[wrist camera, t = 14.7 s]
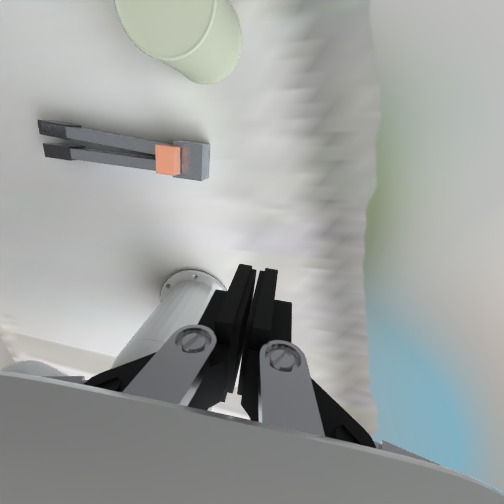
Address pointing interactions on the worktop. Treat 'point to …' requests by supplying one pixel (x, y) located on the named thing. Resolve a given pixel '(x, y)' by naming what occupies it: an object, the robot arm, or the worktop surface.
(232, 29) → the can
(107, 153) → the tongs fixed
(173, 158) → the tab
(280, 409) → the robot arm
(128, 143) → the bar
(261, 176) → the worktop surface
